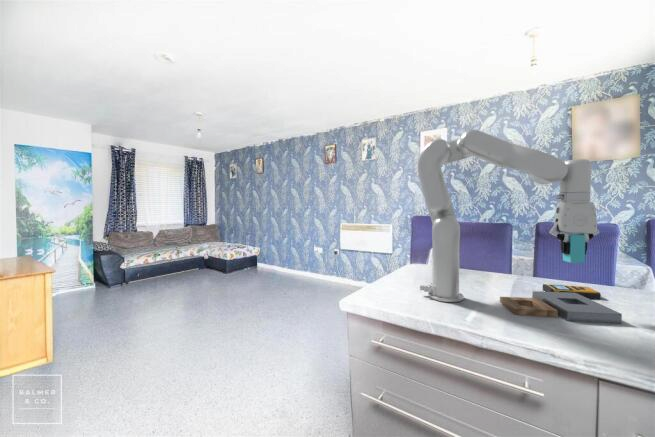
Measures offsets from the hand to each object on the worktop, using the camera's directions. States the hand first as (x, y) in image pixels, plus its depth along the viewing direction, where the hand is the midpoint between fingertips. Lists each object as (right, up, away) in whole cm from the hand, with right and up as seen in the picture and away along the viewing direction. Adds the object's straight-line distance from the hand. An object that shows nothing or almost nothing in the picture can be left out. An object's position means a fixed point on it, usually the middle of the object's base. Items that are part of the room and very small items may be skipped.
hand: (573, 253), depth 93 cm
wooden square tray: (-14, -19, +3) cm, 24 cm away
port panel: (0, -19, +1) cm, 19 cm away
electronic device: (+13, -19, +17) cm, 28 cm away
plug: (0, -3, 0) cm, 3 cm away
